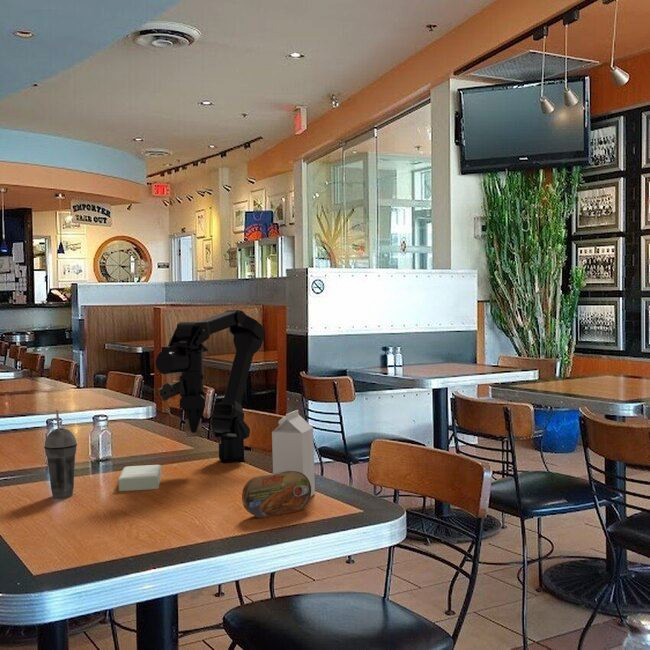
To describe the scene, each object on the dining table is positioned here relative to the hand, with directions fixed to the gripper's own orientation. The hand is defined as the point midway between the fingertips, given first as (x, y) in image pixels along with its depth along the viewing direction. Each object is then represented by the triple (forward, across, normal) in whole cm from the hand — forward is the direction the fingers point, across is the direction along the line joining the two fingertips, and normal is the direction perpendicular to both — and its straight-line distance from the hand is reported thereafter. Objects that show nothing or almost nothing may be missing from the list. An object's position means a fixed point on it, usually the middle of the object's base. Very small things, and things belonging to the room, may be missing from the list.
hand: (193, 431), depth 207 cm
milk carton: (+11, +33, +22) cm, 41 cm away
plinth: (+10, +10, -13) cm, 19 cm away
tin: (+11, +45, +17) cm, 49 cm away
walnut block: (+1, 0, 0) cm, 1 cm away
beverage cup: (+11, +18, -30) cm, 36 cm away
